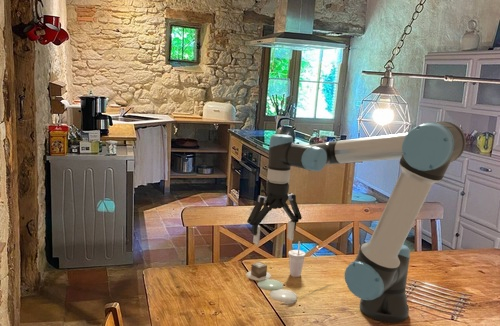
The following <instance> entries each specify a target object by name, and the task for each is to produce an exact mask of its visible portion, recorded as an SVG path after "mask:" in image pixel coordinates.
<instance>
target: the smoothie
mask: <svg viewBox="0 0 500 326" xmlns="http://www.w3.org/2000/svg"><path fill="white" fill-rule="evenodd" d="M297 246H298V247H297V249H291V250H289V251H288V253H287V255H288V261H289V275H290V276H291V277H293V278H299V277H301V275H302V271H303V266H304V261H305V258H306V255H307V254H306V252H305V251H304V250H301V249H300V248H301V241H298V244H297Z"/></svg>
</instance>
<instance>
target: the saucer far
mask: <svg viewBox="0 0 500 326" xmlns="http://www.w3.org/2000/svg"><path fill="white" fill-rule="evenodd" d="M245 275H246V277H247V278H249V279H250V280H252V281H257V282H259V281H261V280H267V279H272V275H271V273H270V272H268V271H267V275H266V276H264V277H261V278H257V277H255V276H253V275H251V270H249V271H247V272H246V274H245Z"/></svg>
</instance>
